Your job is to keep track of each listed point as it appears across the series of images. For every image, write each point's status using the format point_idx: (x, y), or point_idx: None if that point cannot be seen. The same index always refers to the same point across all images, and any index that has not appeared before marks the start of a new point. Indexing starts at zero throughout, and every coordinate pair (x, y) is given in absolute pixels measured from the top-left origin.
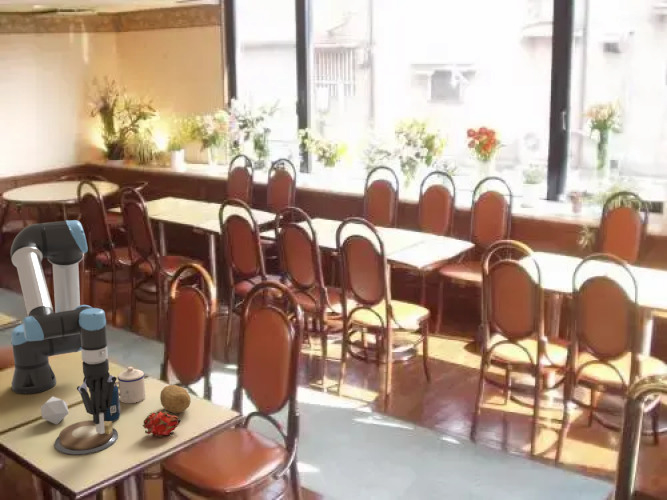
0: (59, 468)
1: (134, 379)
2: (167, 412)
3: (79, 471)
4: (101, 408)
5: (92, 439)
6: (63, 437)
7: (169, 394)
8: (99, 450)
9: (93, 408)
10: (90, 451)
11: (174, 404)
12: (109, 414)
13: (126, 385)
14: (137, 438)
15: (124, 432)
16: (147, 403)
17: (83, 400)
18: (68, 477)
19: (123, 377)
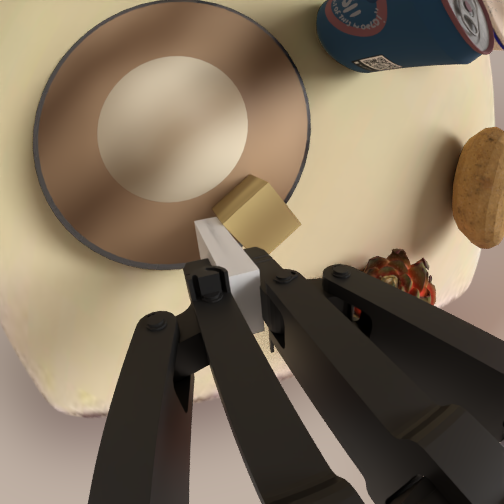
0: (15, 292)
1: (501, 40)
2: (434, 301)
3: (68, 347)
4: (279, 325)
5: (157, 238)
6: (56, 117)
7: (497, 203)
8: (167, 266)
9: (207, 355)
10: (130, 263)
11: (471, 233)
12: (352, 57)
13: None
14: (320, 260)
15: (320, 182)
16: (448, 74)
17: (108, 468)
18: (38, 355)
19: (489, 2)
